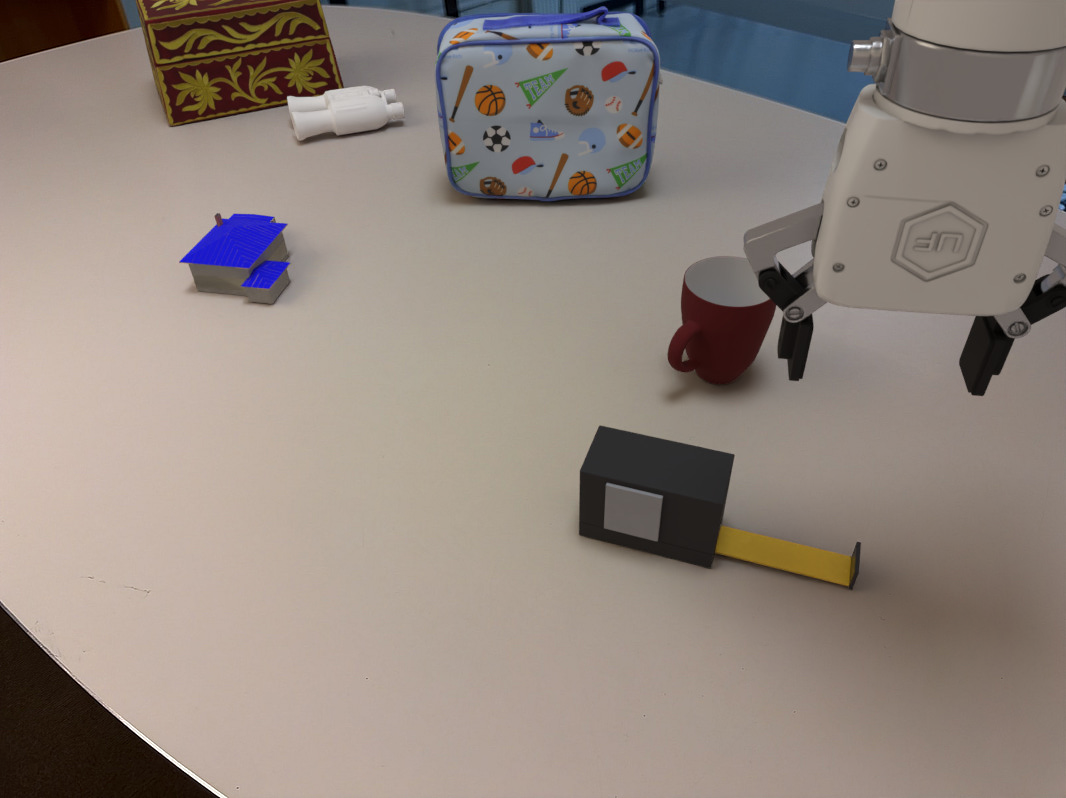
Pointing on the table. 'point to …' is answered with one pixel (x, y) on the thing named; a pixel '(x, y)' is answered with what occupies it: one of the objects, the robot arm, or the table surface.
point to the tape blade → (790, 556)
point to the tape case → (654, 495)
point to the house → (241, 258)
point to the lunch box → (547, 104)
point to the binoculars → (343, 111)
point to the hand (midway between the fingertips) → (880, 373)
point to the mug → (720, 320)
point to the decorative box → (236, 55)
